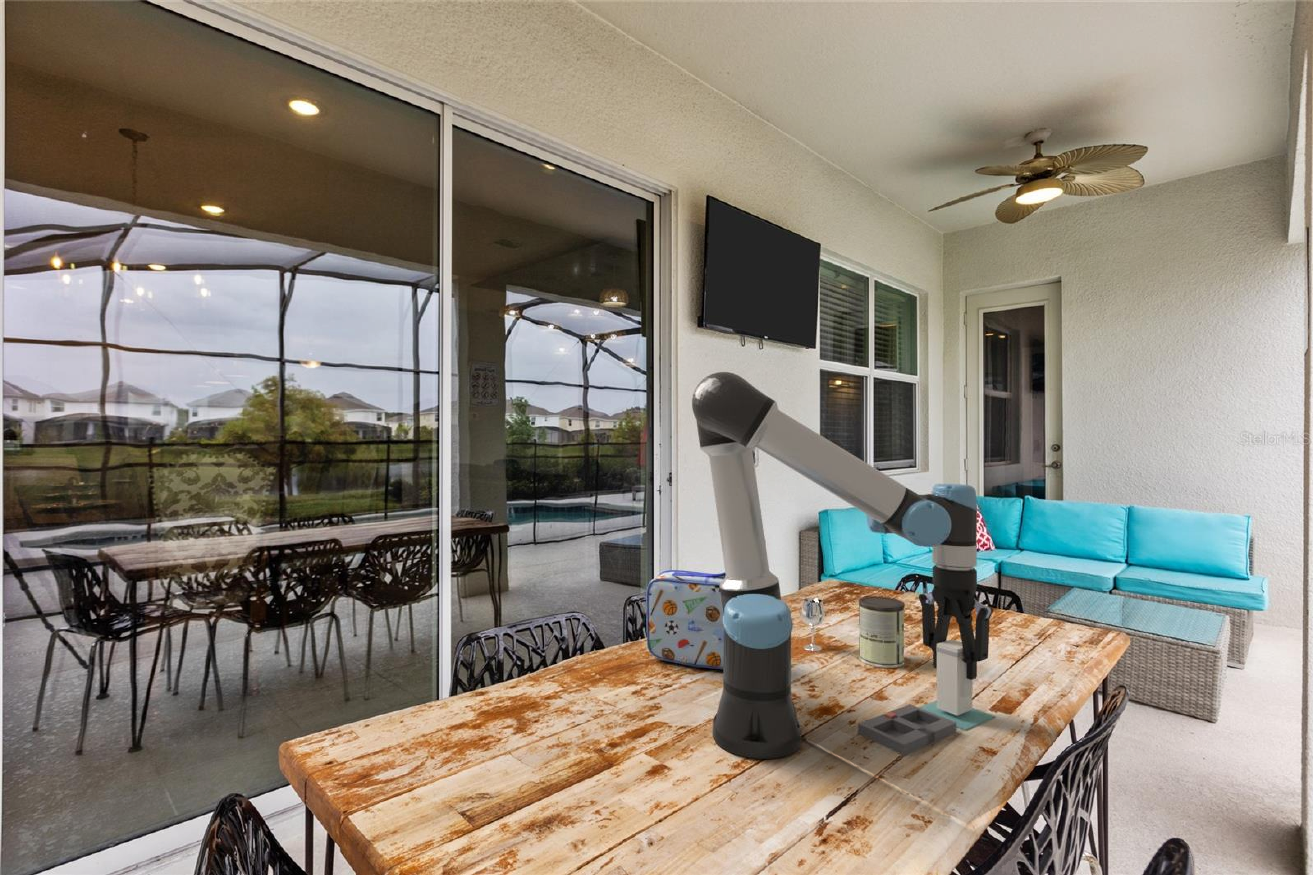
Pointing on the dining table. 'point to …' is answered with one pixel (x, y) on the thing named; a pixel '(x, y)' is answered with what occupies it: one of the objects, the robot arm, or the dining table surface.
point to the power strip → (907, 729)
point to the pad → (960, 716)
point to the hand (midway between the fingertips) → (954, 690)
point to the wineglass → (812, 618)
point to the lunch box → (686, 618)
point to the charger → (951, 678)
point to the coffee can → (881, 632)
